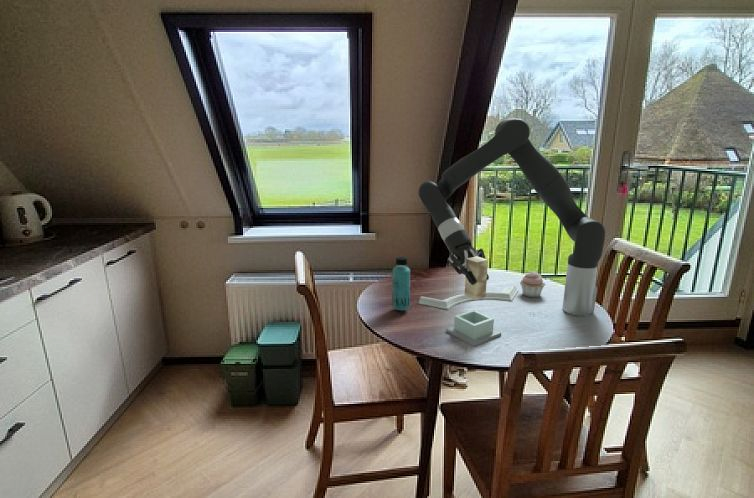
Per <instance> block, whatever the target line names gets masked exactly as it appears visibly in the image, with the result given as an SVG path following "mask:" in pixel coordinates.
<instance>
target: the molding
mask: <svg viewBox="0 0 754 498" xmlns="http://www.w3.org/2000/svg"><path fill="white" fill-rule="evenodd" d="M518 293H519V289H518V288H517V286H516V285H515V284H513V285H511V286H510V287H508V286H506V287H504V288H503V289H502V290H501V292H498V291H497V292H496V291H486V297H484V298H481V299H477V300H476V301H479V300H481V301H482V300H493V301H494V300H497V301H507V302H513V300H514V299H515V297H516V296H517V295H518ZM464 295H465V293H464V294H463V293H462V294H458V295H453V296H450V297H448V298H445V299H437V298H433V297H427V296H420V297H419V301H418V305H423V306H428V307H434V308H438V309H444V310H450V309H451V308H452V307H454V306H456V305H460V304H462V303H466V302H473V301H475V300H474V299H471V298H469V297H467V296H464Z"/></svg>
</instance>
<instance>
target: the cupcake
mask: <svg viewBox="0 0 754 498" xmlns="http://www.w3.org/2000/svg"><path fill="white" fill-rule="evenodd" d="M519 284H520V286H521V290H522V294H523V296H525V297H528V298H538V297H540V296H541V295H542V291H543V289H544V287H545V286H546V283H544V280H543V277H542V276H541V275H540V274H539V273H538V272H536V271H535V270H533V269H532V271H531V272H528V273H525V275H524V276H523V277H522V279H521V280H520V281H519Z"/></svg>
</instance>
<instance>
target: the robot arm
mask: <svg viewBox="0 0 754 498" xmlns="http://www.w3.org/2000/svg"><path fill="white" fill-rule="evenodd" d="M530 133H531V131H530V127H529V125H528V123H527V122H526V121H525V120H524V119H521V118H506V119H503V120H501V121H500V122H499V123H498V124H497V125H496V127H495V130H494V136H493V137H491V139H489V140H488V141H487V142H486V143H484V144H482V145H481V146H480V147H479V148H477V149H476V150H474V151H472V152H470V153H469V154H466V156H463V157H462V158H460V159H459V160H458V161H456V162H455V163H453V164H452V165H451V166H449V167H448V168H447V169H445V170H444V171H443V172H442V174H441V179H440V180H439V181H438V182H436V183H435V182H433V181H431V180H429V181H424V182H422V183H421V184H420V186H419V188H418V191H417V192H418V193H417V194H418V196H419V199H420V201H421V202H422V204H423V205H424V207H425V209H426V210H427V211H428V213H429V214H430V216H431V218H432V221H433V223H434V224H435V226H436V228H437V230H438V232H439V234H440V237H441V239H442V240H443V243H444V244H445V246H446V247H447V248H446V249H448V251H449V253H450V254H451V255H450V256H449V257H448V258H447V262H448V263H449V265H450V266H451V267H452V268H453V270H454V271H455V272H456V273H457V274H458V275H462V274H463V275H464V277H465V276H466V278H467V279H468V281H469V283H470V284H471V285H474V284H475V283H477V280H476V278H475V277H474V275H473V273H472V271H470V267H469V265H468V261H467V258H471V257H475V256H478V257H481V258H484V259H487V258H486V255H485V251H484V249H483V248H480V249H476V248H474V246H473V244H472V239H471V238H470V236H469V234H468V233H467V231H466V229H465V227H464V225H463V224H462V222H461V221H460V220H459V218H458V217H457V216H456V213H455V211H454V210H453V208H452V207H451V205H449V204H448V202H447V200H448V199H449V198H450V197H451V196H452V195H453V194H454V193H455V191H456V190H457V189H459V188H460V187H461V186H462V185H465V183H467V182H468V181H470V180H471V179H472V178H473V177H475V176H476V175H477V174H478V173H480V172H482V171H483V170H484V169H485V168H487V167H488V166H489V165H490V164H492V163H494V162H495V161H497V160H498V159H500V158H502V157H504V156H505V155H506V156H507V154H508V155H509V156H510V157H511V158H512V159H513V161H514V162H515V163H516V164H517V166H518V167H519V169H520V171H521V172H522V174H523V175H524V177H525V178H526V179H527V181H528V183H529V184H530V185H531V187H532V189H533V190H534V191H535V192H536V194H537V195H538V196H539V198H540V199H541V200H542V201H543V203H545V205H546V206H547V207H548V208H549V209H550V210H551V211H552V212H553V214H555V215H556V217H557V219H558V220H559V222H560V224H562V227H563V228H564V229H565V232H566V233H567V235H568V237H569V238H570V239H571V240H572V241H573V242H574V248H573V249H574V250H573V253H571V254H569V255H568V257H567V264H566V274H565V275H566V276H565V283H564V291H563V300H562V306H561V307H562V311H564V312H565V313H567V314H569V315H573V316H578V317H579V316H580V317H585V316H590V315H592V314H594V312H595V308H596V307H595V306H596V300H597V294H598V293H597V292H598V287H597V286H596V280H597V271H598V265H599V262H600V260H601V258H602V255H603V251H604V244H605V239H606V229H605V227H604V225H603V223H601V222H600V221H598V220H595V219H593V218H591V217H589V216H588V215H587V214H585V212H583V210H582V209H581V208H580V207H579V205H578V204H577V203H576V201H575V199H574V196H573V194H572V191H571V187H570V185H569V184H568V181H567V180H566V178H565V177H564V176H563V175H562V174H561V172H560V171H559V169H558V168H557V167H556V166H555V165H554V164H553V163H552V162H551V161H550V160H549V159H547V157H545V156H544V155H543V154H542V153H541V152H540V151H539V150H538V149H536V147H535V146H534V145H533V143H532V142H531V140H530V139H529V138H530ZM489 279H490V276H489V274H488V273H487V281H488V280H489Z"/></svg>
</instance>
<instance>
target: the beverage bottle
mask: <svg viewBox="0 0 754 498" xmlns="http://www.w3.org/2000/svg"><path fill="white" fill-rule="evenodd" d="M408 264H409V263H408V258H407V257H406V256H397V257H396V258H395V265H396V266H394V268H392V279H391V280H392V282H391V284H392V294H391V300H392V301H391V303H392V308H393V309H394V310H398V311H406V310H409V308H410V307H411V269H410V268H409V267H408V266H407V265H408Z"/></svg>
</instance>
